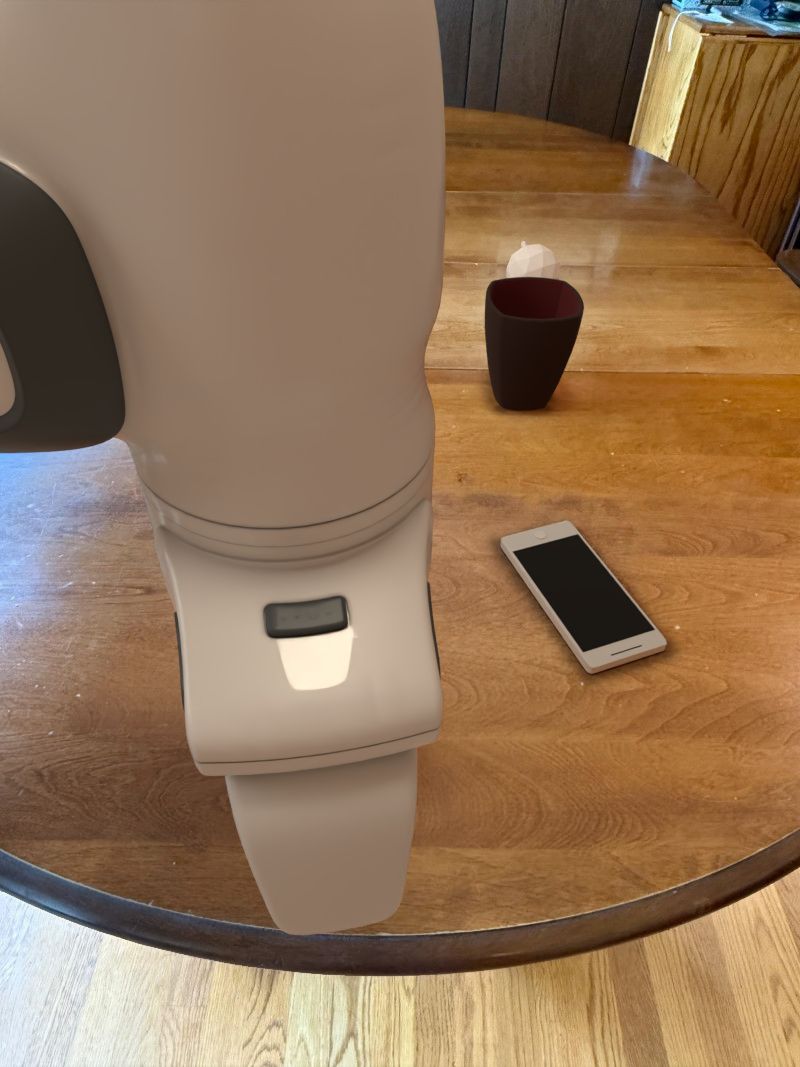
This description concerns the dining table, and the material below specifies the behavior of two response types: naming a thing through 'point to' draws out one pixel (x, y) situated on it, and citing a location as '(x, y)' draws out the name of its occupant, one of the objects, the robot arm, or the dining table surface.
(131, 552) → the dining table surface
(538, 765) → the dining table surface
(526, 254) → the ornament
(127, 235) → the robot arm
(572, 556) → the smartphone
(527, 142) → the dining table surface
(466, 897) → the dining table surface
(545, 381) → the cup
